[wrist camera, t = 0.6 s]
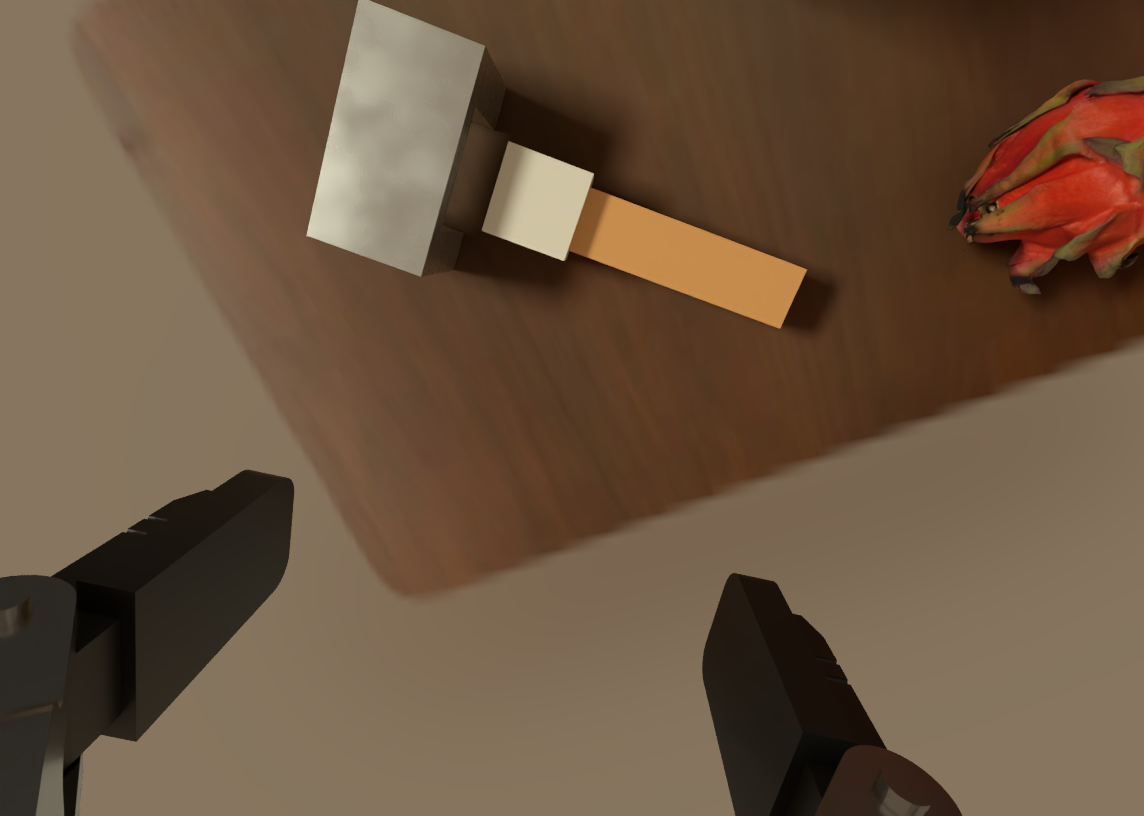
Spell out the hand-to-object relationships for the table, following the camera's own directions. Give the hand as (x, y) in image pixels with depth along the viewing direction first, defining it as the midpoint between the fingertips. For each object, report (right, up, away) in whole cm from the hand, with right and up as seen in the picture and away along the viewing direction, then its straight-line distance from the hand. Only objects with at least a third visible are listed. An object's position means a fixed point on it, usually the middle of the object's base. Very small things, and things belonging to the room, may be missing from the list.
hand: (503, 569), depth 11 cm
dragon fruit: (+24, +14, +19) cm, 34 cm away
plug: (+5, +11, +20) cm, 23 cm away
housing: (-6, +15, +19) cm, 25 cm away
